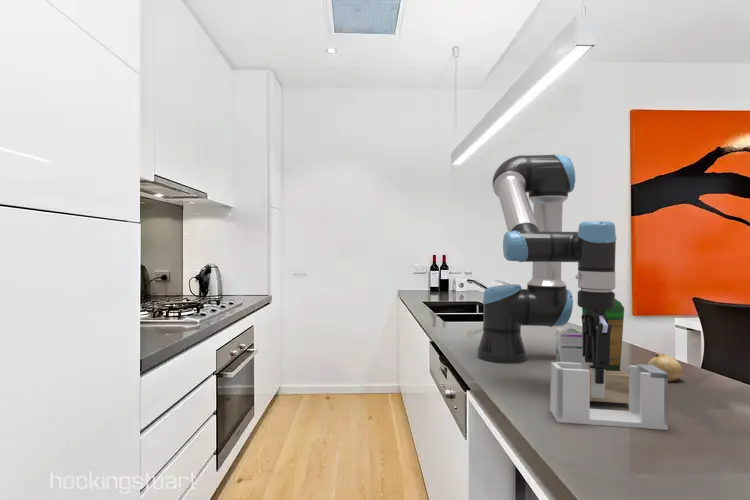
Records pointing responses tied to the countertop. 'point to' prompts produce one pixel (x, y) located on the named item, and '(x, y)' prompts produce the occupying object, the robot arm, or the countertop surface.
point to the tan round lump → (667, 366)
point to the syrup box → (569, 346)
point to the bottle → (614, 334)
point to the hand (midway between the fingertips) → (594, 393)
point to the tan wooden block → (614, 387)
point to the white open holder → (643, 410)
